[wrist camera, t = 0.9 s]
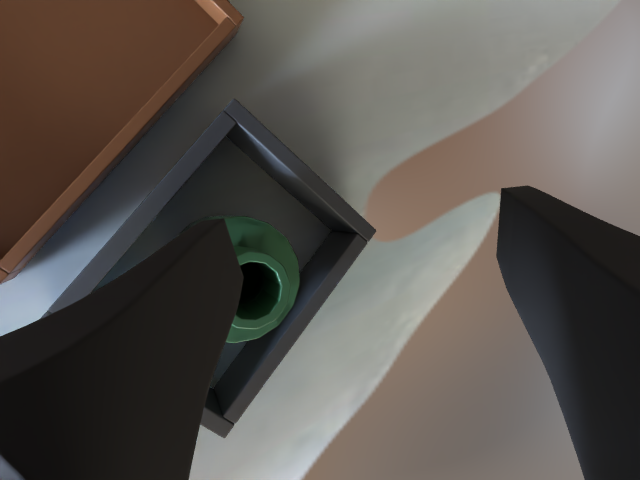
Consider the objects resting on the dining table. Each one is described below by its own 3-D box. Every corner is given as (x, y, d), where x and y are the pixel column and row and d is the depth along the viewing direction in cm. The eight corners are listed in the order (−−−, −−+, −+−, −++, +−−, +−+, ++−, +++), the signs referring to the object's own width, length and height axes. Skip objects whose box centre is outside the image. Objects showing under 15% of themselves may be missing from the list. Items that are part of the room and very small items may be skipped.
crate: (214, 407, 23) (224, 439, 20) (53, 308, 20) (33, 326, 17) (348, 228, 25) (377, 230, 22) (222, 114, 22) (234, 97, 19)
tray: (14, 278, 19) (-2, 285, 17) (-273, 100, 16) (-332, 85, 14) (237, 33, 22) (244, 17, 20) (39, -164, 18) (26, -206, 17)
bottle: (225, 328, 23) (263, 389, 15) (146, 273, 21) (141, 308, 13) (282, 254, 24) (346, 275, 16) (211, 196, 22) (242, 186, 14)
